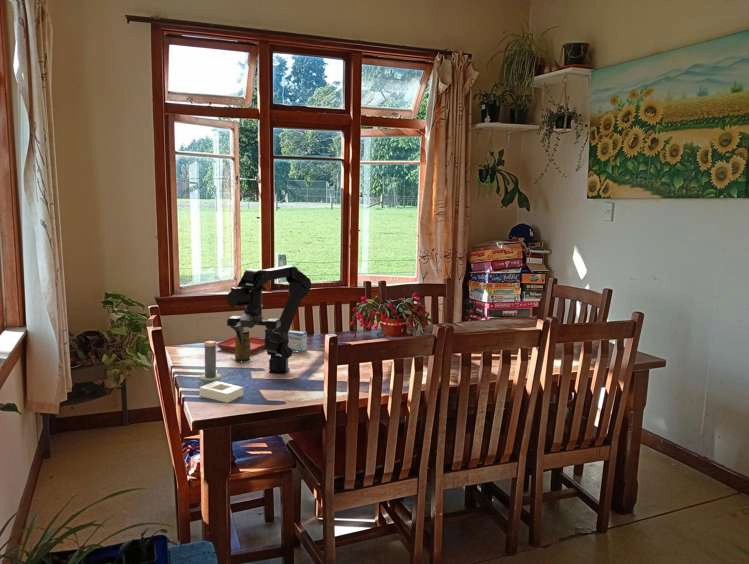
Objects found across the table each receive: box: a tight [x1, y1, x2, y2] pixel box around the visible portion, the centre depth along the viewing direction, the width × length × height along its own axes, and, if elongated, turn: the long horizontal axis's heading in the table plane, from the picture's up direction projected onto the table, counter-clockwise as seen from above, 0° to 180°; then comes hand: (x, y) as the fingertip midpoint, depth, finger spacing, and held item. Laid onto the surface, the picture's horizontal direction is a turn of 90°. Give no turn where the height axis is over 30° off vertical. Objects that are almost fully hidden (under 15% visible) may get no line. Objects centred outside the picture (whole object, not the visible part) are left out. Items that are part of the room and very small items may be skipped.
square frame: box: [199, 380, 244, 403], centre depth 201 cm, size 8×12×3 cm, turn 63°
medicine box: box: [288, 329, 308, 353], centre depth 259 cm, size 8×4×9 cm, turn 73°
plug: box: [203, 340, 217, 378], centre depth 219 cm, size 4×4×13 cm
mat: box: [199, 372, 222, 382], centre depth 220 cm, size 8×8×1 cm
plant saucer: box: [216, 335, 266, 355], centre depth 261 cm, size 18×18×3 cm
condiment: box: [230, 329, 257, 364], centre depth 243 cm, size 7×8×12 cm
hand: (253, 345), depth 217 cm, fingers open, 9 cm apart
